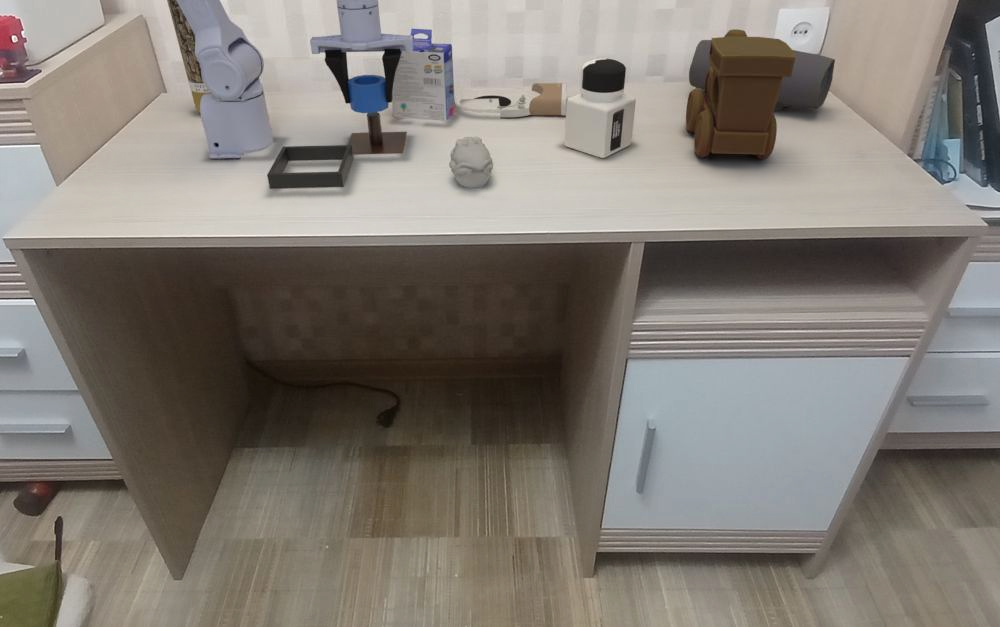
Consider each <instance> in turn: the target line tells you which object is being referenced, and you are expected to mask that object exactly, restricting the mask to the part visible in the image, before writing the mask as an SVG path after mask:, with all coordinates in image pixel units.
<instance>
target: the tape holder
mask: <svg viewBox="0 0 1000 627" xmlns="http://www.w3.org/2000/svg"><path fill="white" fill-rule="evenodd" d="M366 121H367V130H368V132H351V134H350V136H349V138H348V139H349V140H348V142H347V145H352V152H353V156H358V155H391V154H392V155H393V154H394V155H395V154H399V155H400V154H404V150H405V145H406V141H407V134H408V131H383V130H382V123H381V114H380V112H375V113H366Z"/></svg>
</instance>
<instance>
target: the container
mask: <svg viewBox="0 0 1000 627" xmlns="http://www.w3.org/2000/svg"><path fill="white" fill-rule="evenodd" d="M626 74H627V67H626V66H625V64H623V63H622V62H620V61H619V60H616V59H612V58H594V59H591V60H587V61H585V62H584V63H583V65H582V66H581V74H580V93H578V94H576V95H573V96H571V97H568V98H566V116H565V129H564V130H565V131H564V146H565V147H566V148H570V149H572V150H576V151H578V152H581V153H585V154H587V155H591V156H594V157H597V158H599V159H605V158H607V157H609V156H611V155H613V154H615V153H617V152H620V151H621V150H624V149H625V148H627V147H630V145H632V141H633V140H632V139H633V131H634V122H635V121H634V120H635V112H636V102H637V98H636V96H633V95H628V94H624V93H625V83H626Z"/></svg>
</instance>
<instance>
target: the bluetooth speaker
mask: <svg viewBox="0 0 1000 627" xmlns="http://www.w3.org/2000/svg"><path fill="white" fill-rule="evenodd" d="M711 40H712V39H702V40H700V41H699V42H698V43H697V45H696V46H695V47H696V48H695V51H694V53H693V56H692V60H691V62H690V63H691V64H690V66H689V67H690V68H689V71H688V81H689V85H690V86H691V87H693V88H699V89H701V90H702V91H705V81H706V75H707V72H708V69H709V67H712V66H711V64H710V62H709V52H710V46H711ZM792 50H793V51H794V54H795V57H796V58H795V62H794V66H793V71H792V75H791V77H783V78H782V83H781V87H780V92H779V95H778V99H777V102H776V105H775V109H774V111H782V109H783V108H784V107H791V108H800V109H808V110H809V109H812V110H819V109H820V108H821V107H822V106H823V104H825V101H826V100H827V96H828V94H829V92H830V89H831V86H832V83H833V78H834V70H835V69H834V68H835V62H836V59H835V58H831V57H828V56H825V55H820V54H815V53H811V52H805V51H801V50H800V51H799V50H794V49H792Z"/></svg>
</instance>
